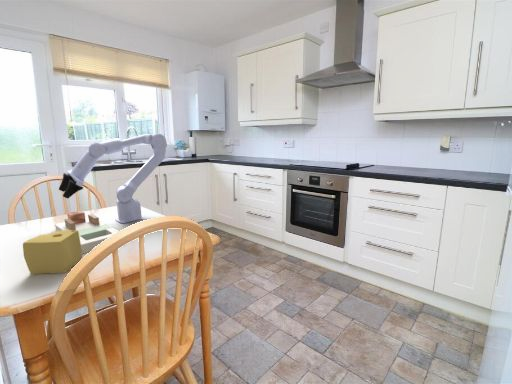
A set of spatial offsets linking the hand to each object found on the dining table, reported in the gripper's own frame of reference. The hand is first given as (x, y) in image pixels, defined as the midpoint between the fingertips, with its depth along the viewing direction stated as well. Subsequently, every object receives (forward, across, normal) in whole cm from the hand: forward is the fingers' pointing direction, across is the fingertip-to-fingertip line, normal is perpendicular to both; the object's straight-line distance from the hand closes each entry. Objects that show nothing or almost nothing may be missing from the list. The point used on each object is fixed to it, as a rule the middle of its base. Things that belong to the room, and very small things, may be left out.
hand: (63, 193), depth 117 cm
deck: (+6, +19, +9) cm, 22 cm away
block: (+7, +7, +9) cm, 13 cm away
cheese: (+10, +42, -4) cm, 43 cm away
